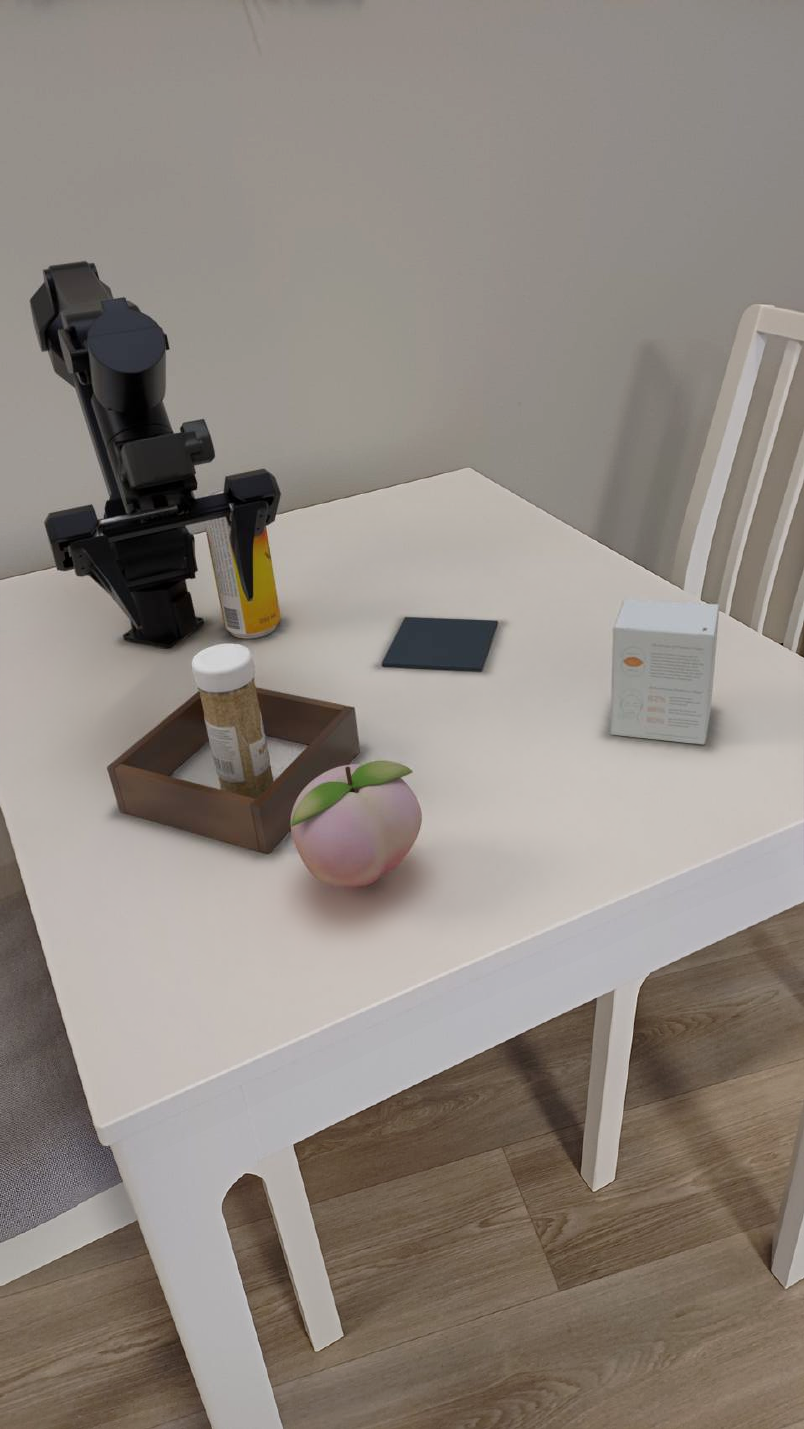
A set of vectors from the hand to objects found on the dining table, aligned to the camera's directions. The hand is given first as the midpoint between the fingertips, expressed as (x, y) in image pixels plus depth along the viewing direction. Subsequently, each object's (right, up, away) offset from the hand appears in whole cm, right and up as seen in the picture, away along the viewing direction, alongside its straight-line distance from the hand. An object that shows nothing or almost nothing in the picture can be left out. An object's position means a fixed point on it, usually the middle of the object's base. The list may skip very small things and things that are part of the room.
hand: (196, 613), depth 80 cm
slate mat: (+21, -1, +21) cm, 29 cm away
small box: (+39, -9, +6) cm, 40 cm away
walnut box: (+3, -14, +3) cm, 14 cm away
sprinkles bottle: (+4, -15, +1) cm, 16 cm away
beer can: (+1, +1, +27) cm, 27 cm away
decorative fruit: (+14, -20, -8) cm, 26 cm away
